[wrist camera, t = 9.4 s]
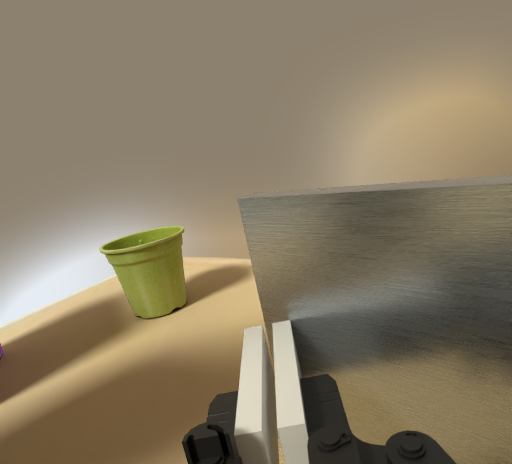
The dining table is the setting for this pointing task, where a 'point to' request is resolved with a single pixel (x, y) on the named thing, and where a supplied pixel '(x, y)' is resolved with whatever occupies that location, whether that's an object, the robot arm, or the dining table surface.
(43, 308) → the dining table surface
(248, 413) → the robot arm
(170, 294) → the plant pot
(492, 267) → the side door
